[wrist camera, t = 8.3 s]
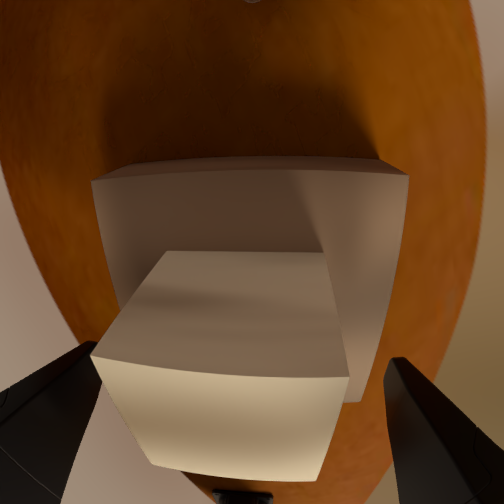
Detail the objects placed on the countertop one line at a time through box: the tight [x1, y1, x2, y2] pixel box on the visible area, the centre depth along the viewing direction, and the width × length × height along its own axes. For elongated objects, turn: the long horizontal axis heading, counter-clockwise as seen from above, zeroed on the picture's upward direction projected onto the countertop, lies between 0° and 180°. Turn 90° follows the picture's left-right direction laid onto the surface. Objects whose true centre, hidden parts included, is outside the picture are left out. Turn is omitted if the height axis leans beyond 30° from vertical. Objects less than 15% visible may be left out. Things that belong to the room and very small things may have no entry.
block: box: [90, 251, 350, 481], centre depth 8 cm, size 5×5×5 cm
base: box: [91, 156, 409, 403], centre depth 12 cm, size 10×10×3 cm
